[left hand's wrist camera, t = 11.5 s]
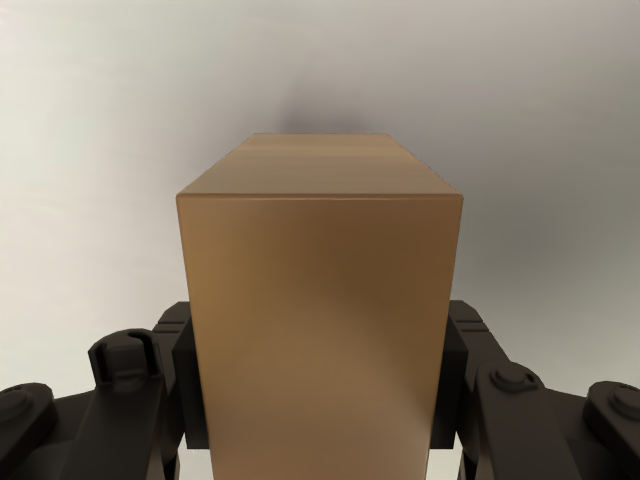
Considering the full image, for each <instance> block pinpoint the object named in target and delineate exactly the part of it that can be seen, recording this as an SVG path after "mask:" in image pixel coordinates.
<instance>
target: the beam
mask: <svg viewBox="0 0 640 480" xmlns="http://www.w3.org/2000/svg"><path fill="white" fill-rule="evenodd" d="M176 205H177V212H178V219H179V227H180V234H181V242H182V249H183V256H184V264H185V271H186V278H187V286H188V293H189V300H190V308H191V315H192V322H193V330H194V337H195V345H196V352H197V359H198V367H199V374H200V381H201V389H202V396H203V403H204V411H205V418H206V425H207V433H208V440H209V448H210V455H211V462H212V470H213V477H214V480H426V472H427V465H428V458H429V450H430V443H431V435H432V428H433V420H434V413H435V406H436V398H437V391H438V383H439V376H440V368H441V361H442V354H443V346H444V339H445V331H446V324H447V316H448V309H449V302H450V294H451V287H452V279H453V272H454V264H455V257H456V250H457V242H458V235H459V227H460V220H461V212H462V205H463V195H462V194H461V193H459V192H458V191H457V190H456V189H455V188H453V187H452V186H451V185H450V184H448V183H447V182H446V181H445V180H443V179H442V178H441V177H440V176H439V175H437V174H436V173H435V172H434V171H432V170H431V169H430V168H429V167H427V166H426V165H425V164H424V163H422V162H421V161H420V160H419V159H418V158H416V157H415V156H414V155H413V154H411V153H410V152H409V151H408V150H406V149H405V148H404V147H403V146H402V145H400V144H399V143H398V142H397V141H395V140H394V139H393V138H392V137H390V136H389V135H388V134H253V135H252V136H251V137H250V138H248V139H247V140H246V141H244V142H243V143H242V144H241V145H239V146H238V147H237V148H236V149H234V150H233V151H232V152H230V153H229V154H228V155H227V156H225V157H224V158H223V159H221V160H220V161H219V162H218V163H216V164H215V165H214V166H213V167H211V168H210V169H209V170H207V171H206V172H205V173H204V174H202V175H201V176H200V177H198V178H197V179H196V180H195V181H193V182H192V183H191V184H189V185H188V186H187V187H186V188H184V189H183V190H182V191H181V192H179V193H178V194H177V195H176Z"/></svg>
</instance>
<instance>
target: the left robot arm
mask: <svg viewBox="0 0 640 480" xmlns="http://www.w3.org/2000/svg"><path fill="white" fill-rule="evenodd" d="M88 355H89V359H90V363H91V367H92V371H93V375H94V379H95V383H96V387H95V389H94V390H92V391H88V392H85V393H81V394H76V395H71V396H67V397H62V398H58V399H54V396H53V393H52V389H51V388H49V387H48V386H47V385H46V384H41V383H26V384H20V385H17V386H14V387H10V388H7V389H5V390H3V391H1V392H0V480H179V472H180V462H179V455H178V447H179V445H180V442H181V439H182V437H183V434H184V432H185V438H186V444H187V449H210V448H209V440H208V433H207V425H206V418H205V411H204V403H203V396H202V389H201V381H200V374H199V367H198V359H197V352H196V345H195V337H194V330H193V322H192V315H191V308H190V302H177V303H176V304H175V305H173V306H172V307H170V308H169V309H167V310H166V311H165V312H164V314H163V315H162V317H161V318H160V319H159V321H158V324H156V325H155V327H154V328H153V330H152V331H150V330H146V329H142V328H140V329H126V330H122V331H117V332H115V333H112V334H110V335H107V336H105V337H103V338H102V339H100V340H99V341H97V342H96V343H94V344H93V346H92V347H91V348H90V349H89V351H88ZM456 431H457V434H458V437H459V439H460V442H461V444H462V447H463V450H462V455H461V461H460V467H459V472H458V478H457V480H640V389H638V388H636V387H633V386H630V385H627V384H623V383H620V382H612V381H602V382H596V383H594V384H593V385H592V386H591V387H590V388H589V391H588V394H587V397H581V396H577V395H572V394H567V393H563V392H558V391H554V390H551V389H547V388H545V386H544V384H543V383H542V381H541V380H540V378H539V377H538V376H537V375H536V374H535V373H533V372H532V371H531V370H530V369H528V368H526V367H524V366H522V365H520V364H518V363H515V362H511V361H510V360H509V359H508V357H507V356H506V354H505V353H504V351H503V350H502V348H501V347H500V345H499V344H498V342H497V341H496V339H495V338H494V336H493V335H492V333H491V332H489V329H488V328H487V326H486V325H485V323H483V320H482V319H481V317H480V316H479V314H478V313H477V311H476V310H475V309H474V308H472V307H471V306H469V305H468V304H466V303H465V302H464V301H462V300H450V302H449V309H448V316H447V324H446V331H445V339H444V346H443V354H442V361H441V368H440V376H439V383H438V391H437V398H436V406H435V413H434V420H433V428H432V435H431V443H430V449H453V446H454V440H455V434H456Z"/></svg>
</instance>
